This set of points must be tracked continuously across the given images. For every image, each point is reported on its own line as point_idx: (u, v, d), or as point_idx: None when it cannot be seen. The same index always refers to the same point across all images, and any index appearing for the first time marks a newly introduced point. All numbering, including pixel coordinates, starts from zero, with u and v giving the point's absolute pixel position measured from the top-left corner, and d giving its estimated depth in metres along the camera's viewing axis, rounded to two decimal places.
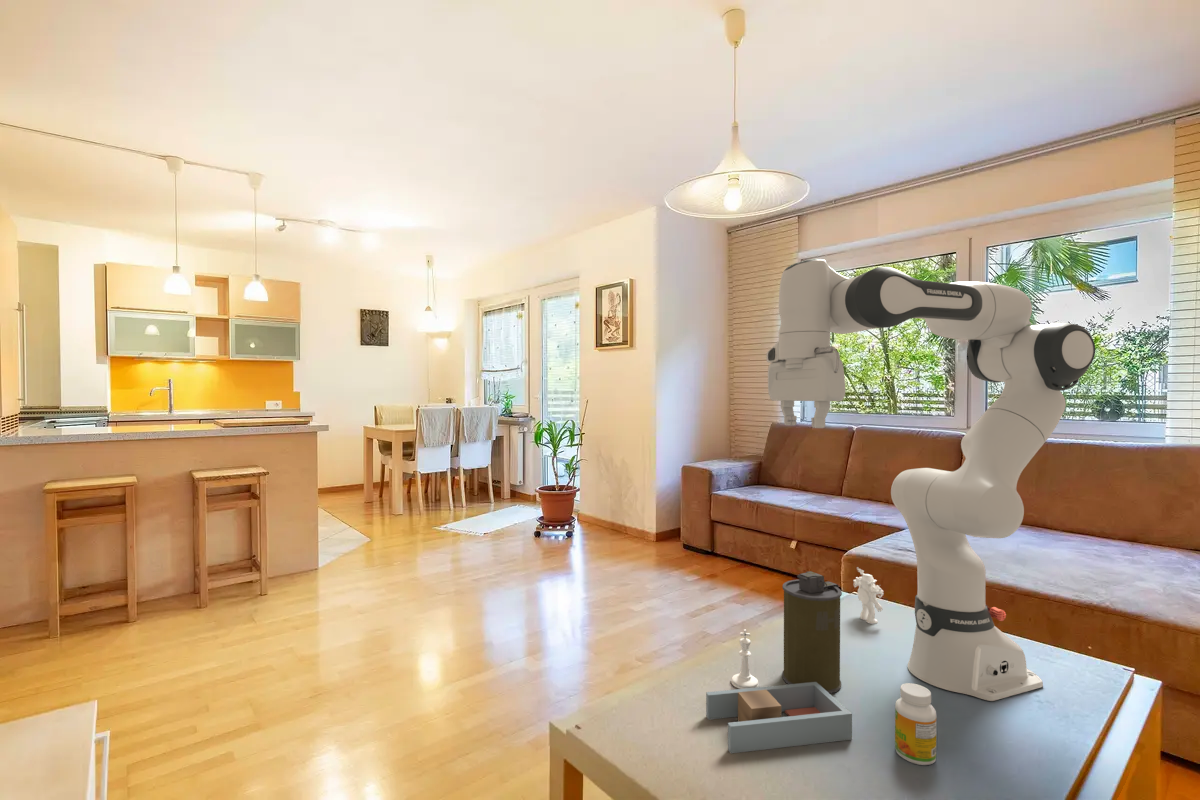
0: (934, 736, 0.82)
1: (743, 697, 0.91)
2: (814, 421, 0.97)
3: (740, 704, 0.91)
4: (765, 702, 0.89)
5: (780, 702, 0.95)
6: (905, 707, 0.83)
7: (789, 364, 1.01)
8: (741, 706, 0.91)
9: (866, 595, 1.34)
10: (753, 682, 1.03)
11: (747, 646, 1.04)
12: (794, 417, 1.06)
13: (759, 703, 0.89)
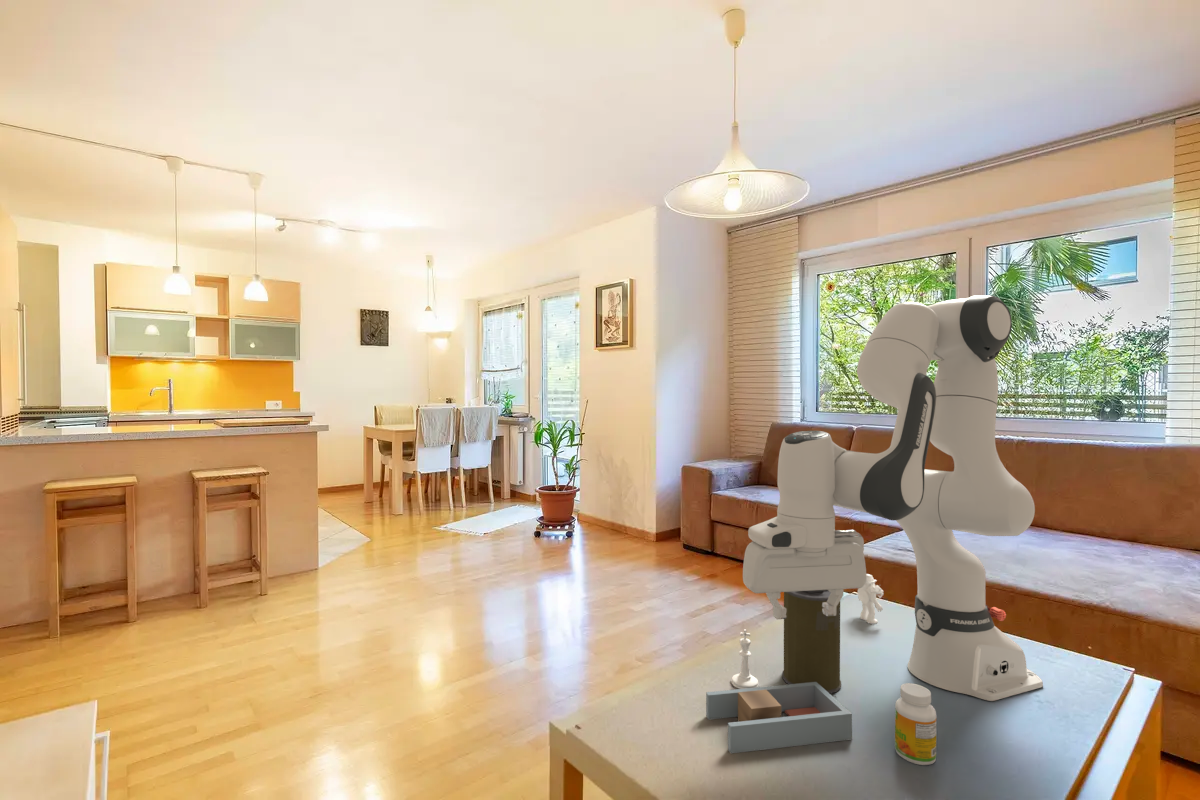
0: (934, 736, 0.82)
1: (743, 697, 0.91)
2: (833, 609, 0.92)
3: (740, 704, 0.91)
4: (765, 702, 0.89)
5: (780, 702, 0.95)
6: (905, 707, 0.83)
7: (818, 552, 0.89)
8: (741, 706, 0.91)
9: (866, 595, 1.34)
10: (753, 682, 1.03)
11: (747, 646, 1.04)
12: None
13: (759, 703, 0.89)
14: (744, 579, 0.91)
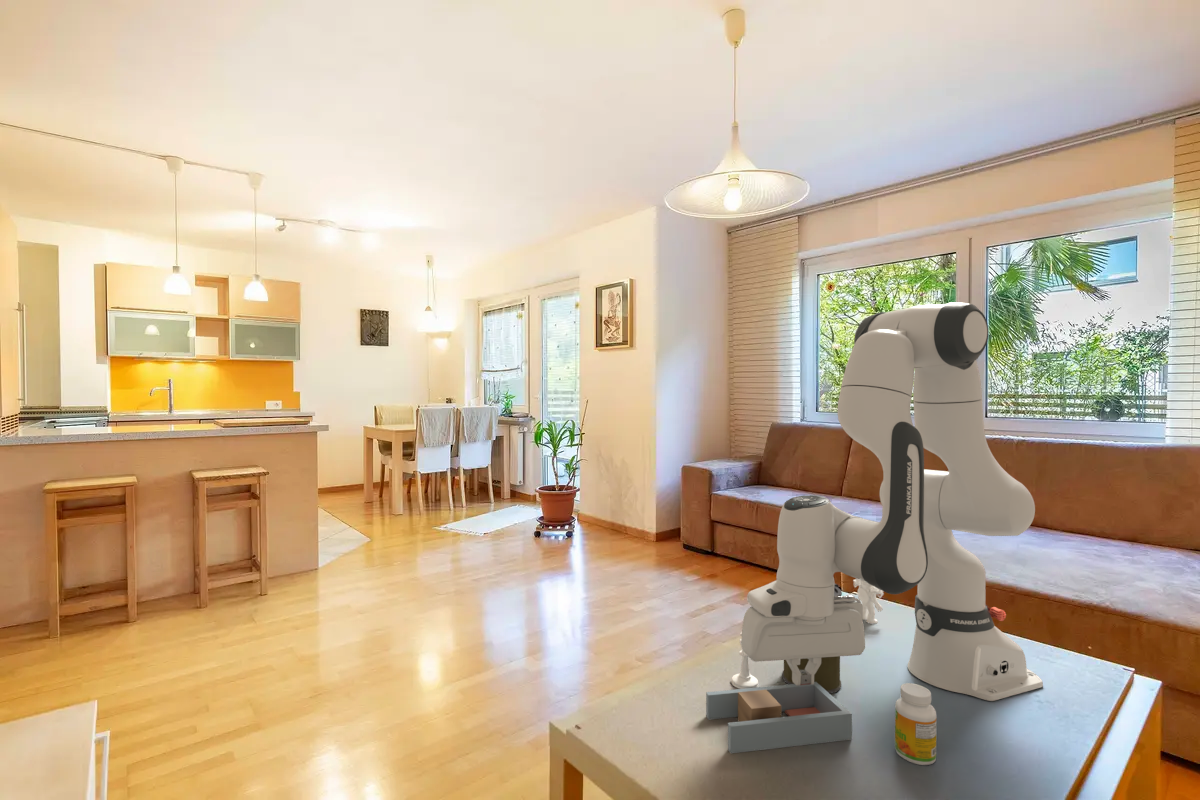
0: (934, 736, 0.82)
1: (743, 697, 0.91)
2: (811, 678, 0.91)
3: (740, 704, 0.91)
4: (765, 702, 0.89)
5: (780, 702, 0.95)
6: (905, 707, 0.83)
7: (817, 620, 0.88)
8: (741, 706, 0.91)
9: (866, 595, 1.34)
10: (753, 682, 1.03)
11: None
12: None
13: (759, 703, 0.89)
14: (743, 645, 0.90)
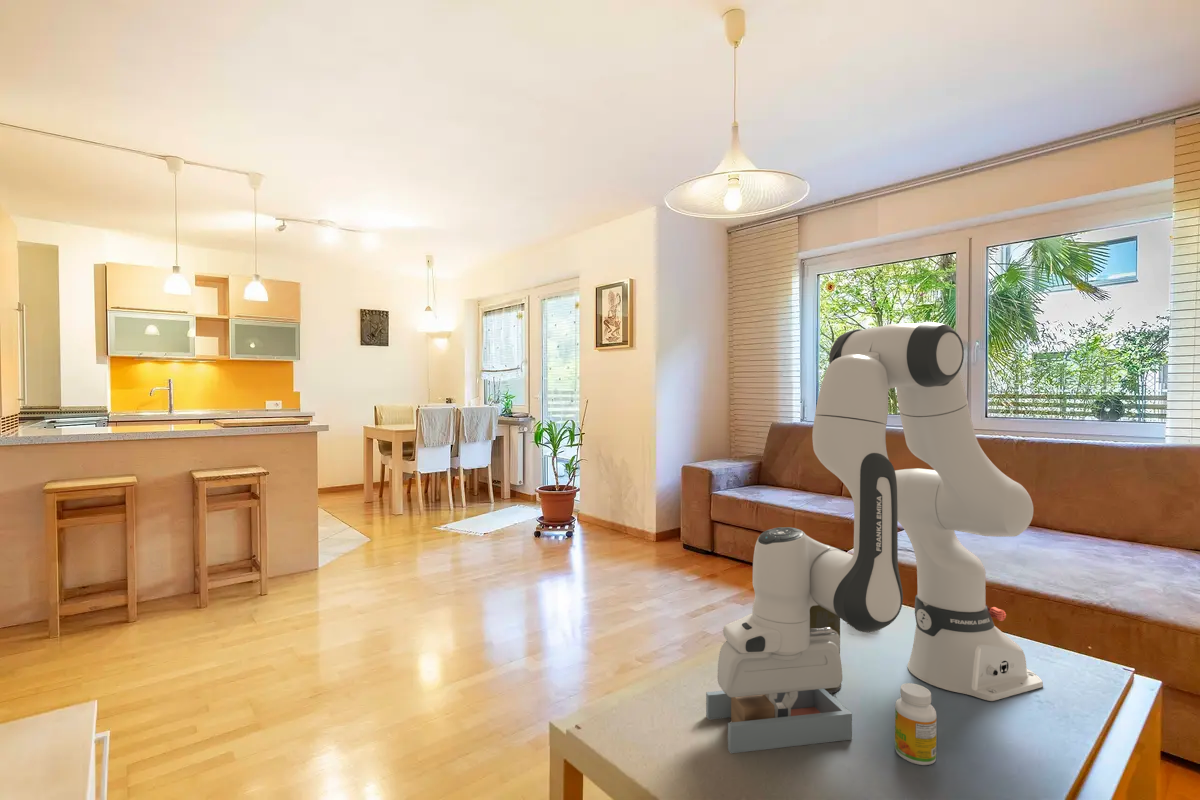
0: (934, 736, 0.82)
1: (736, 697, 0.90)
2: (788, 712, 0.90)
3: (733, 704, 0.91)
4: (758, 702, 0.89)
5: None
6: (905, 707, 0.83)
7: (793, 655, 0.88)
8: (734, 706, 0.91)
9: None
10: None
11: None
12: None
13: (752, 703, 0.89)
14: (719, 680, 0.90)
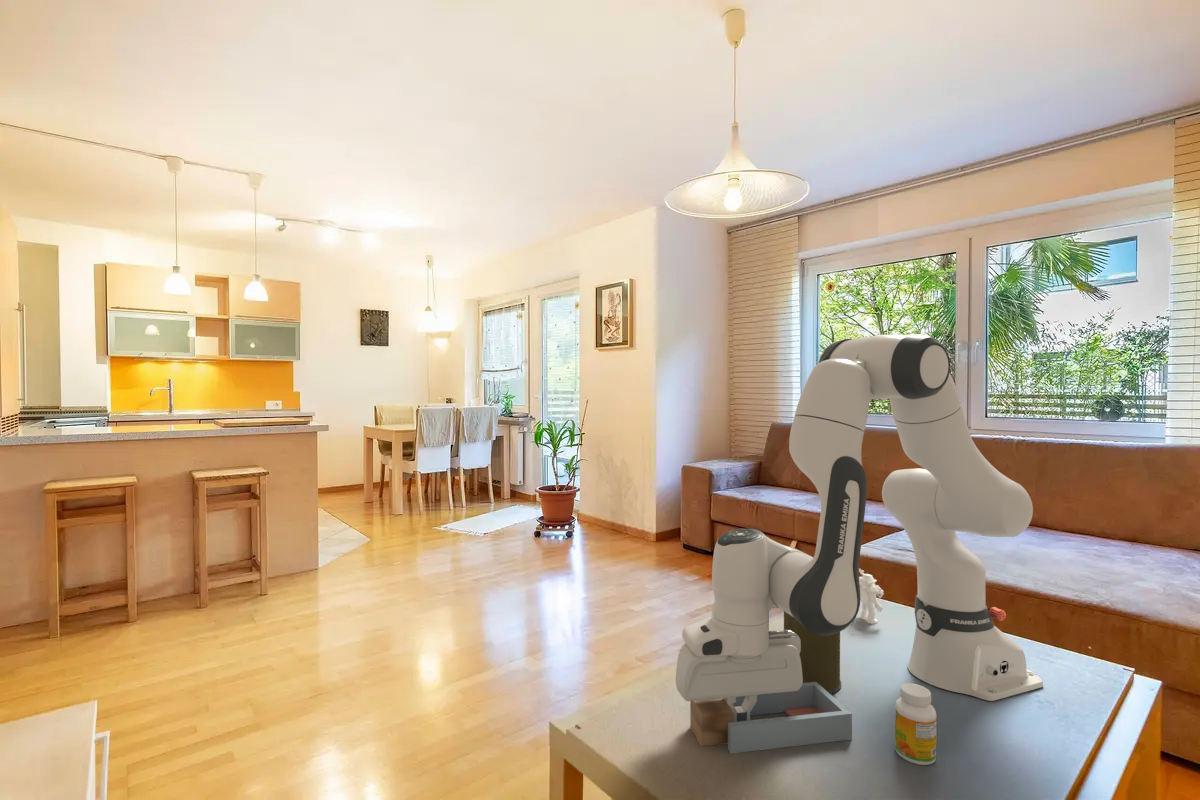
0: (934, 736, 0.82)
1: (695, 701, 0.89)
2: (747, 716, 0.89)
3: (692, 708, 0.90)
4: (716, 706, 0.88)
5: (780, 702, 0.95)
6: (905, 707, 0.83)
7: (751, 658, 0.87)
8: (693, 711, 0.89)
9: (866, 595, 1.34)
10: None
11: None
12: None
13: (710, 707, 0.88)
14: (677, 684, 0.89)
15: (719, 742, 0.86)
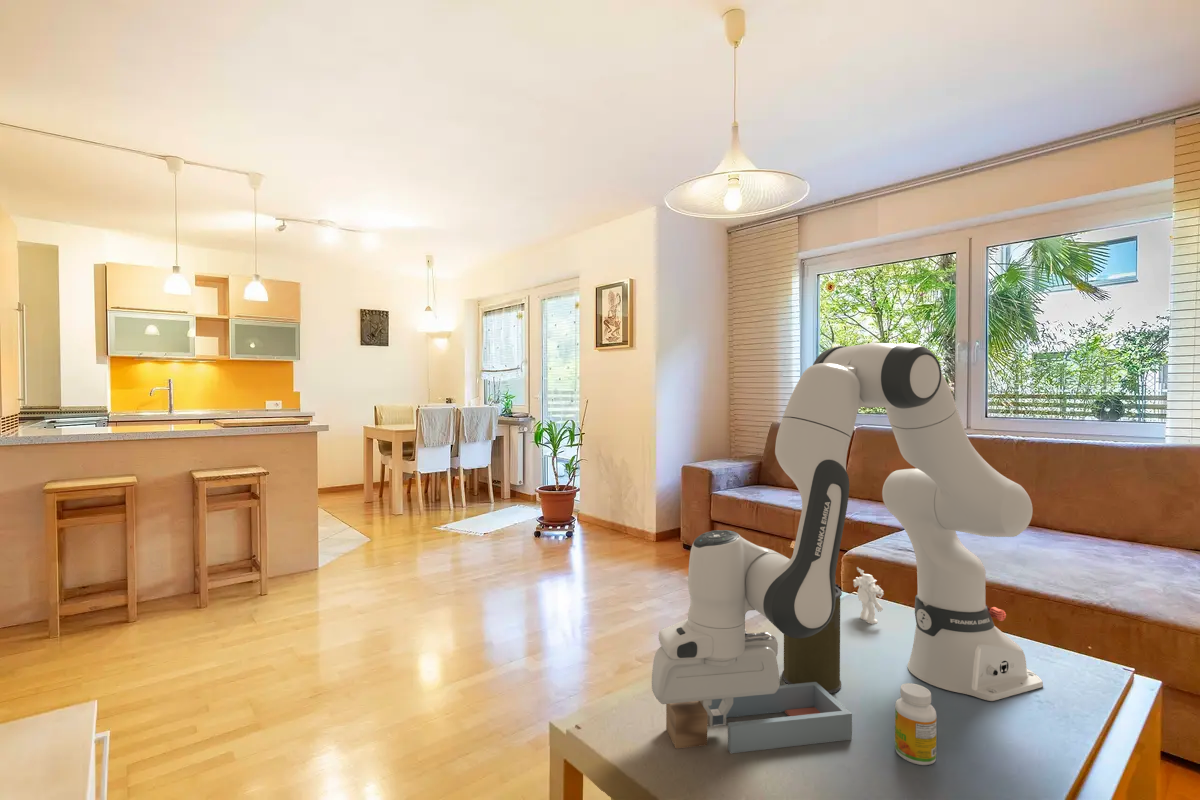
0: (934, 736, 0.82)
1: None
2: (723, 718, 0.88)
3: (668, 710, 0.89)
4: (691, 709, 0.87)
5: (780, 702, 0.95)
6: (905, 707, 0.83)
7: (726, 661, 0.86)
8: (668, 713, 0.89)
9: (866, 595, 1.34)
10: None
11: None
12: None
13: (685, 709, 0.87)
14: (652, 687, 0.88)
15: (694, 745, 0.86)
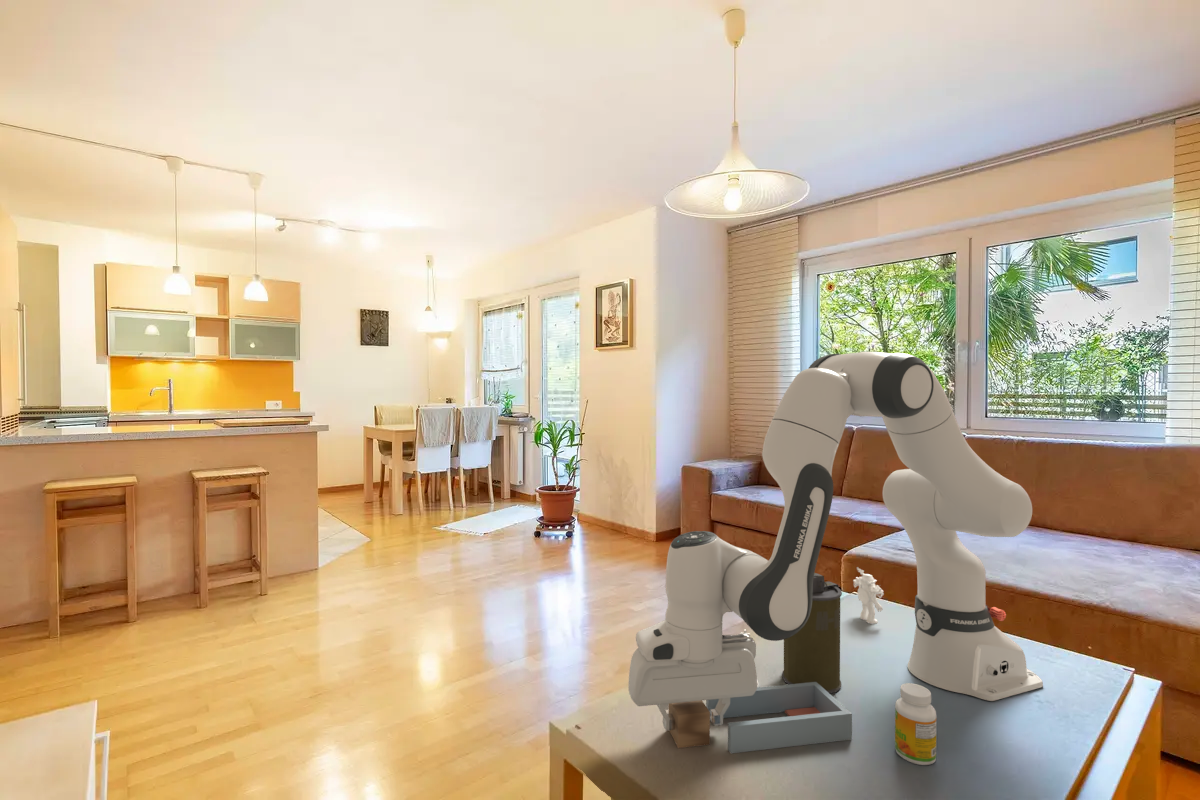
0: (934, 736, 0.82)
1: (672, 703, 0.89)
2: (720, 719, 0.88)
3: (670, 710, 0.89)
4: (693, 708, 0.87)
5: (780, 702, 0.95)
6: (905, 707, 0.83)
7: (703, 663, 0.85)
8: (671, 712, 0.89)
9: (866, 595, 1.34)
10: None
11: None
12: None
13: (687, 709, 0.87)
14: (629, 688, 0.87)
15: (696, 744, 0.86)
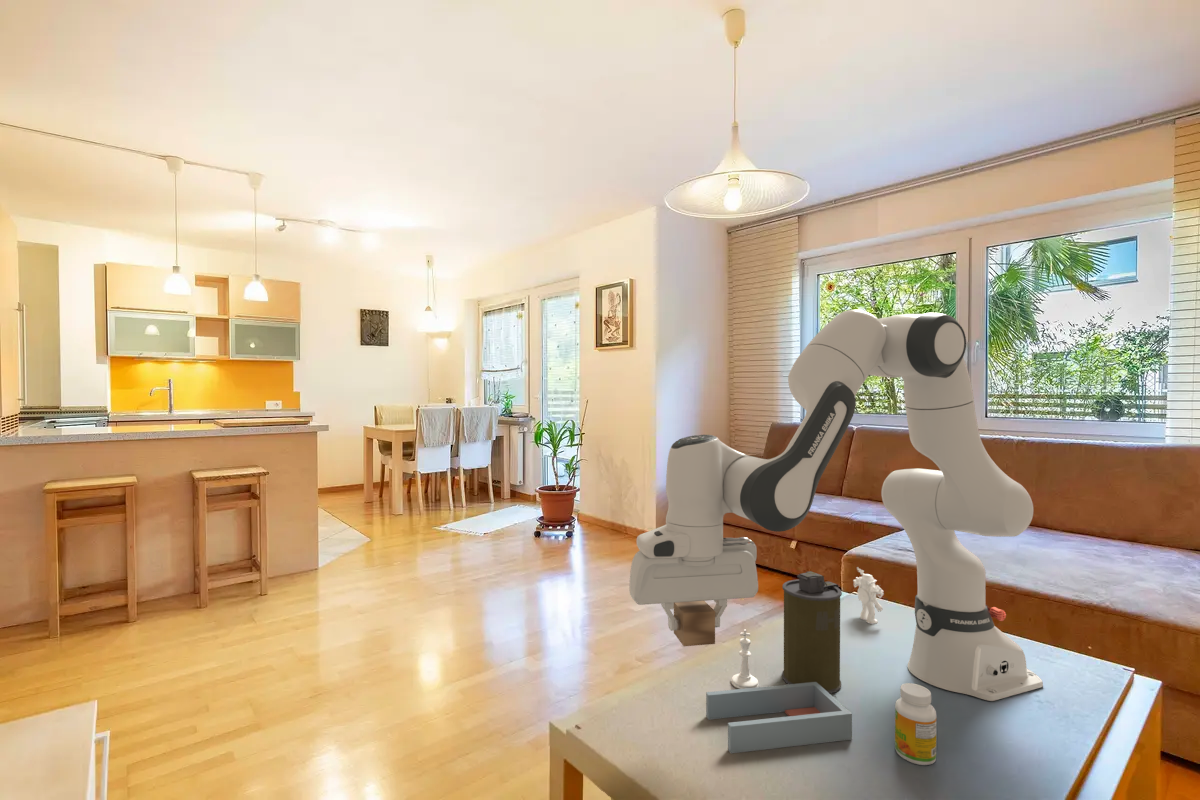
0: (934, 736, 0.82)
1: (678, 605, 0.89)
2: (717, 621, 0.88)
3: (675, 613, 0.89)
4: (699, 609, 0.87)
5: (780, 702, 0.95)
6: (905, 707, 0.83)
7: (704, 561, 0.85)
8: None
9: (866, 595, 1.34)
10: (753, 682, 1.03)
11: (747, 646, 1.04)
12: None
13: (692, 609, 0.87)
14: (630, 590, 0.87)
15: (702, 643, 0.86)
